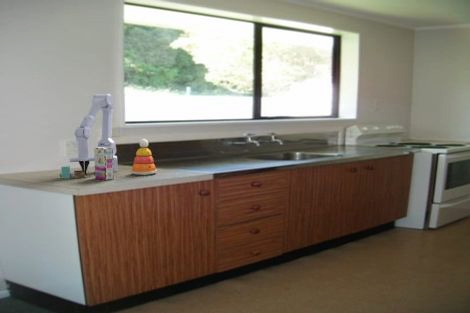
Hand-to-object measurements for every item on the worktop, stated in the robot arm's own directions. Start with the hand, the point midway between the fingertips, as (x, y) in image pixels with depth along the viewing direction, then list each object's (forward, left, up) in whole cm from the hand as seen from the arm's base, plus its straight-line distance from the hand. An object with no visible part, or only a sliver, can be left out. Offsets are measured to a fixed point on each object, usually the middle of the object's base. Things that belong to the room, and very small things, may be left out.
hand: (84, 174), depth 261 cm
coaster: (+8, -10, -1) cm, 13 cm away
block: (+10, 0, -1) cm, 10 cm away
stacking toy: (-31, +3, -1) cm, 31 cm away
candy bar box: (-9, +12, -1) cm, 15 cm away
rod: (+4, 0, -1) cm, 4 cm away
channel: (+3, 0, -1) cm, 3 cm away
